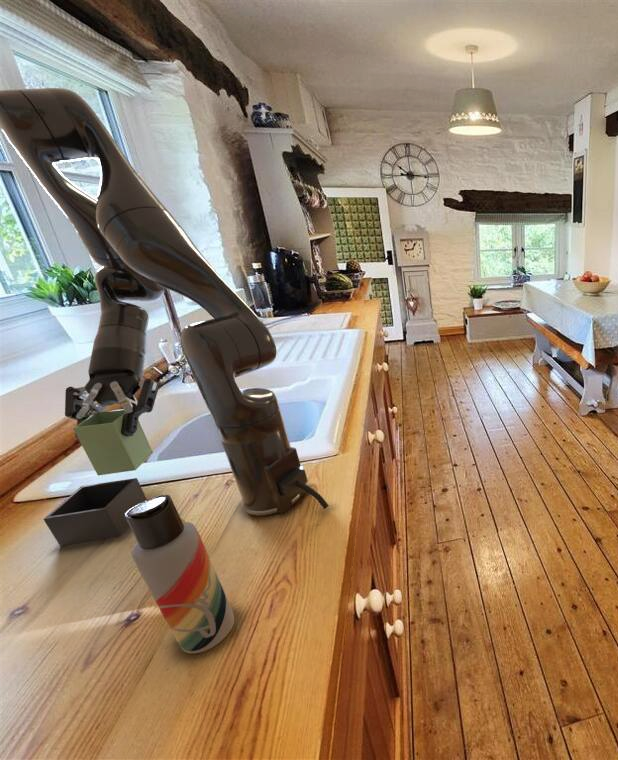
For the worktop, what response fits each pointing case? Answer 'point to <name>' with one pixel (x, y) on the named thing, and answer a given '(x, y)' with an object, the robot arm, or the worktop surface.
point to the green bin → (112, 443)
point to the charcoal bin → (95, 512)
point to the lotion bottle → (179, 575)
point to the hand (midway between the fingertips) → (105, 437)
